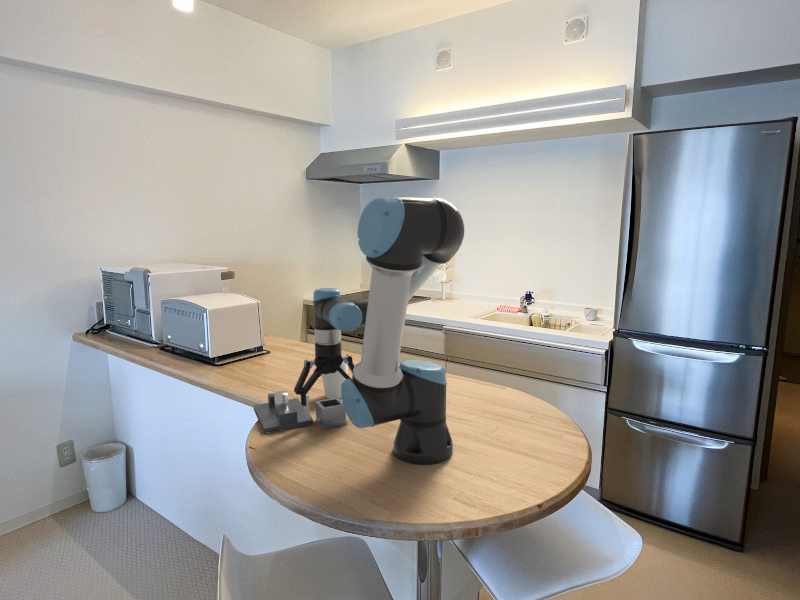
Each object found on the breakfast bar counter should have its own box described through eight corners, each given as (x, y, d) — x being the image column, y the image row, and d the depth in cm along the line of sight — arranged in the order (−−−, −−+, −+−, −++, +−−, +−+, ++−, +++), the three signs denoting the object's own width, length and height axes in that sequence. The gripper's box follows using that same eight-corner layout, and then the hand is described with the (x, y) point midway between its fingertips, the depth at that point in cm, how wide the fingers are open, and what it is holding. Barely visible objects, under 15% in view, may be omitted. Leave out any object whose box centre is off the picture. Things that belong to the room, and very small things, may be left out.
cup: (343, 401, 160) (342, 366, 158) (318, 400, 161) (316, 365, 159) (352, 392, 168) (351, 359, 166) (327, 390, 170) (326, 357, 168)
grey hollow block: (346, 424, 141) (345, 405, 140) (322, 429, 138) (321, 409, 137) (338, 416, 147) (338, 397, 146) (316, 420, 144) (315, 401, 143)
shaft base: (313, 424, 141) (312, 399, 140) (264, 433, 136) (263, 408, 134) (297, 402, 159) (296, 380, 158) (253, 409, 154) (252, 386, 152)
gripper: (364, 334, 147) (364, 400, 151) (281, 343, 137) (284, 414, 141) (373, 340, 141) (373, 409, 144) (287, 350, 130) (290, 424, 134)
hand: (329, 411), depth 143 cm, fingers open, 13 cm apart
